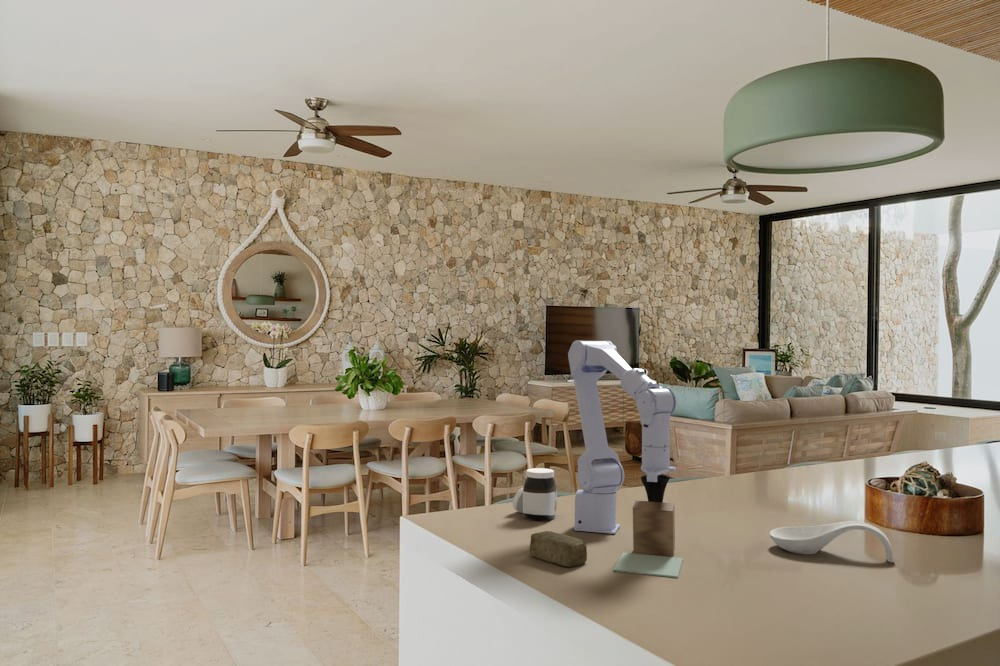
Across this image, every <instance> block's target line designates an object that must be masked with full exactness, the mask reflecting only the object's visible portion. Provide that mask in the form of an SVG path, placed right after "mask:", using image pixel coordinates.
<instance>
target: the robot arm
mask: <svg viewBox="0 0 1000 666" xmlns="http://www.w3.org/2000/svg"><path fill="white" fill-rule="evenodd" d="M567 356H568V364H569V370H570V374H571V375H570V376H571V378H573V384H574V389H575V394H576V401H577V406H578V412H579V417H580V423H581V431H582V436H583V441H584V447H585V450H584V452H583V453H582V454H581V455H580V456H579V458H578V459H577V475H576V476H577V481H578V485H579V486H580V488H581V489H577V490H576V492H575V497H574V527H573V530H574V531H576V532H577V531H578V532H580V531H581V532H589V533H599V534H600V533H601V534H609V535H610V534H611V535H614V534H616V533H617V531H618V530H619V528H620V527H621V524H620V523H617V492H619V491H620V487H621V486H623V483H624V481H625V471H624V467H623V465H622V464H621V461H620V458H619V454H618V453H617V452H615V450H613V449H611V448H610V447H609V444H608V443H609V442H608V438H607V432H606V427H605V421H604V415H603V411H602V405H601V400H600V394H599V388H598V380H599V379H600V378H602V377H604V375H605V374H606V373H607V372H608V371H609V372H610V373H611V374H613V375H614V376H615V377H616V378H618V380H620V386H621V389H622V390H623V391H624V392H625V393H627V394H628V396H630V397H631V398H632V400H634V401H635V404H636V409H637V412H638V414H639V421H640V424H641V466H640V470H641V471H642V472H644V474H643V475H641V476H640V477H641V478H640V480H641V482H642V484H643V485H642V486H643V487H644V490H645V492H646V497H647V501H650V502H663V503H664V497H665V492H666V488H667V485H668V483H669V481H670V479H671V475H669V474H666V473H670V472H676V466H670V463H671V462H670V461H671V460H670V458H671V457H670V456H671V455H670V453H671V450H670V449H671V443H670V442H671V414H673V413H674V412H675V410H676V407H677V399H676V395H675V393H674V392H673V391H672V389H671V387H668V386H664V387H662V386H659V385H658V383H657V382H656V381H655V380H653V379H651V378H650V377H649V376H648V375H647V374H646V373H645V370H644V369H643V368H637V367H636V368H635V367H633V368H632V367H631V366H630V365H629V364H628V363H627V361H625V359H623V358H622V356H621V355H620V354H619V353H618V349H617V346H616V345H615V344H613V342H612V341H611V340H607V339H606V340H577V339H576V340H574V341H573V342H572V343H571V346H570V348H569V350H568V353H567Z"/></svg>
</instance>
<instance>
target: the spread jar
mask: <svg viewBox="0 0 1000 666" xmlns="http://www.w3.org/2000/svg"><path fill="white" fill-rule="evenodd" d="M525 475H526V478H525V481H524V483H523V486H522V487H521V488H520V489H519V490H517V492H516V493H515V495H514V496H513V499H512V508H513V509H514V510H515V511H517V512H518V513H522V514H523V516H524V518H525V519H527V520H530V521H537V522H543V521H544V522H547V521H551V520H553V519H554V518H555V517H556V513H557V508H558V507H557V505H558V504H557V503H558V502H557V501H558V499H557V497H558V495H557V494H558V488H557V487H558V486H557V482H556V480H555V478H554V476H555V470H553V469H551V468H545V467H537V468H536V467H534V468H533V467H532V468H528V469H526V471H525Z"/></svg>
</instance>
